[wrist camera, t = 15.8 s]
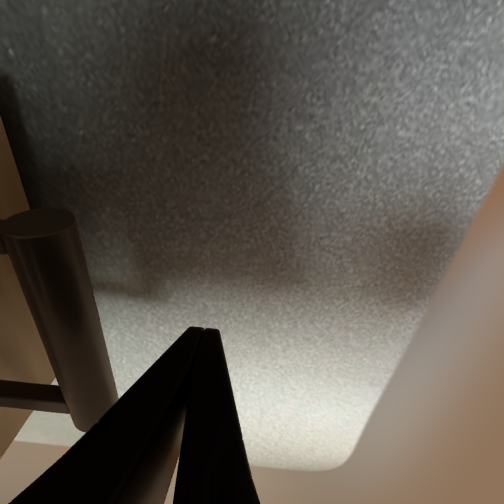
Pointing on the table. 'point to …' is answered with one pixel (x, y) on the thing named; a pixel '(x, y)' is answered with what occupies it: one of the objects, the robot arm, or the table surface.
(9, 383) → the drawer
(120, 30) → the table surface
